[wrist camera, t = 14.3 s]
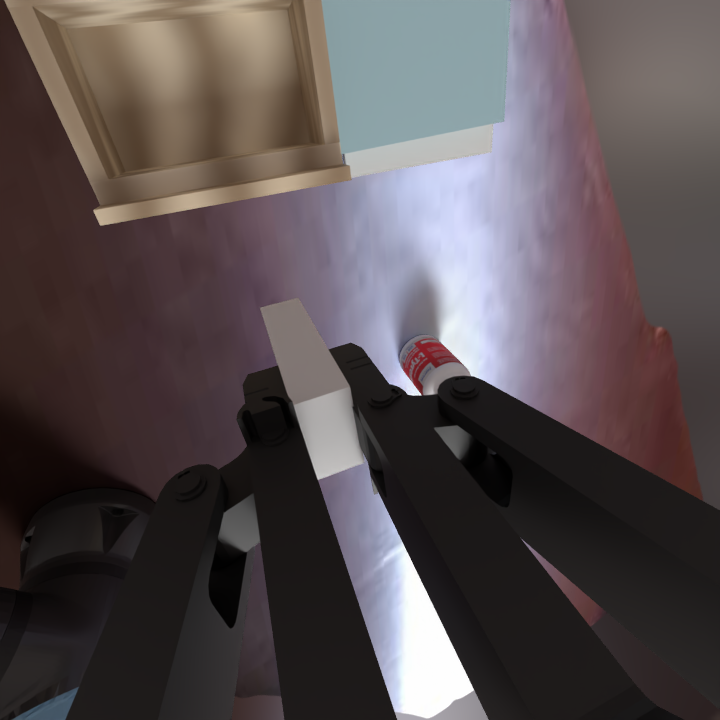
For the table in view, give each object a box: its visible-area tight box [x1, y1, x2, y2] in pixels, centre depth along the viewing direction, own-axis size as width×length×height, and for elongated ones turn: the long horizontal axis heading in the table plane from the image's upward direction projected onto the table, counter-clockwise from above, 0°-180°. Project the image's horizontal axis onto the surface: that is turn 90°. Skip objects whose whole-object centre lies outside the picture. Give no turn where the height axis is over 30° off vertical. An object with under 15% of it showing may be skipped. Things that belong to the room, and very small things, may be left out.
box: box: [4, 0, 351, 226], centre depth 27 cm, size 18×14×9 cm
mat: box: [343, 124, 493, 178], centre depth 35 cm, size 16×16×1 cm
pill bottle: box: [399, 335, 471, 395], centre depth 47 cm, size 6×6×11 cm
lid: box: [321, 0, 511, 154], centre depth 33 cm, size 17×11×2 cm, turn 99°
